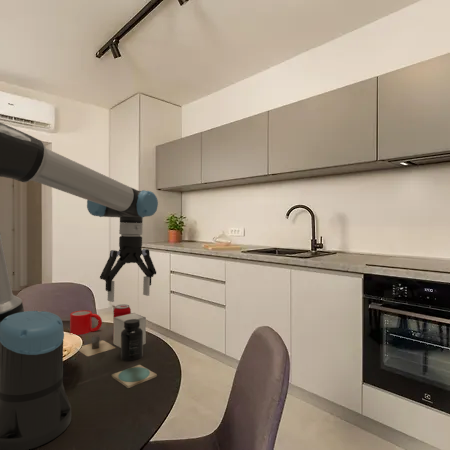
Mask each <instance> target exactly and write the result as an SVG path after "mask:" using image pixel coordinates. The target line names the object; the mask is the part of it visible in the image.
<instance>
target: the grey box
mask: <svg viewBox="0 0 450 450" xmlns="http://www.w3.org/2000/svg"><path fill="white" fill-rule="evenodd" d="M130 319H138V320H139V321H140V327H139V328H141V329H142V331H143V346H144V345H146V341H147V337H146V332H147V328H146V327H147V324H146V323H147V319H146V316H142V315H141V314H138V313H135V312H132V313H131V314H127V315H122V316H118V317H114V336H112V337H113V338H112V339H113V346H115V347H118V348H120V349H121V332H122V331H123V330H124V329H125V328H124V322H125V321H126V320H130Z"/></svg>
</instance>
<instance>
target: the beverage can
mask: <svg viewBox="0 0 450 450" xmlns="http://www.w3.org/2000/svg"><path fill="white" fill-rule="evenodd" d="M131 310H132V309H131V306H130V305H129V304H117V305H115V306H114V309H113V323H112V324H113V325H112V326H113V327H112V329H113V334H112V335H113V336H114V317H118V316H122V315H127V314H131V312H132V311H131ZM113 336H112V337H113Z"/></svg>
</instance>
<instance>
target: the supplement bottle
mask: <svg viewBox="0 0 450 450" xmlns="http://www.w3.org/2000/svg"><path fill="white" fill-rule="evenodd" d="M139 327H140V321H139V320H138V319H130V320H126V321H125V322H124V328H125V329H124V330H123V331H122V332H121V348H120V359H121V360H122V361H124V362H132V361H133V362H134V361H138V360H140V359H141V358H143V356H144V345H143V331H142V329H141V328H139Z"/></svg>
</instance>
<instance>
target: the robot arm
mask: <svg viewBox="0 0 450 450" xmlns="http://www.w3.org/2000/svg"><path fill="white" fill-rule="evenodd" d="M0 178H6V179H11V180H15V181H18V182H21V183H26V184H27V183H28V182H31V181H33V182H35V183H38V184H41V185H44V186H47V187H50V188H53V189H56V190H58V191H61V192H64V193H67V194H69V195H72V196H75V197H78V198H82V199H83V200H86V208H87V211H88V213H89V214H90V215H91V216H94V217H100V218H102V217H103V218H119V230H118V231H119V239H118V242H119V243H118V247H119V249H118V250H115V249H112V250H110V251H109V257H108V260H107V261H106V262H105V263H106V264H105V266H104V267H103V269H102V272H100V273H101V274H100V276H99V279H100V280H102V281H103V280H104V281H105V291H106V292H107V301H108V302H110V303H113V302H115V281H114V278H116V276H117V274H118V273H119V271H120V270H121V269H122V268H123V266H125V264H137V266H138V267H139V269H140V270H141V271H142V273H143V274H144V276H143V287H142V289H143V290H142V291H143V292H142V295H143V296H146V297H148V296H150V291H151V290H150V287H151V285H152V278H153V277H154V275H157V270H156V268H155V265H154V261H153V260H152V257H151V256H150V250H149V249H147V248H143V249H142V247H143V237H142V236H141V235H143V218H145V217H152V216H153V215H155V214H156V212H157V210H158V207H159V206H158V205H159V201H158V197H157V196H156V194H155V193H154V192H152V191H150V190H145V189H143V190H138V189H136V188H134V187H132V186H129V185H127V184H125V183H122V182H120V181H118V180H116V179H114V178H111V177H110V176H106V175H104V174H102V173H100V172H98V171H96V170H94V169H91V168H90V167H87V166H86V165H83V164H81V163H79V162H77V161H75V160H72V159H70V158H67V157H66V156H64V155H61V154H59V153H57V152H55V151H52V150H50V149H49V148H46V145H45V143H44V141H42V140H40V139H38V138H37V137H34V136H33V135H30V134H28V133H25V132H23V131H21V130H19V129H17V128H15V127H12V126H10V125H8V124H5V123H3V122H0ZM2 239H3V238H2V235H1V233H0V450H29V449H30V450H32V449H36V448H39V447H41V446H43V445H45V444H47V443H49V442H51V441H53V440H54V439H56V438H58V437H59V436H60V435H61V434H63V433H64V432H65V430H66V429H68V427H69V426H70V424H71V421H72V405H71V403H70V401H69V398H68V394H67V393H66V389H65V386H64V383H63V382H64V381H63V380H64V379H63V378H64V377H63V376H64V339H65V332H64V325H63V320H62V318H61V317H60V315H58V314H55V313H53V312H50V311H45V310H44V311H43V310H42V311H38V310H27V311H25V309H24V304H23V299H22V298H21V297H18V296H17V295H15V294H14V293H13V290H12V284H11V279H10V275H9V274H10V273H9V270H8V265H7V260H6V255H5V254H6V253H5V249H4V245H3V240H2ZM141 256H142V257H143V259H142V257H141ZM118 257H119V258H118ZM117 258H118V259H117ZM116 260H117V261H116Z"/></svg>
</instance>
